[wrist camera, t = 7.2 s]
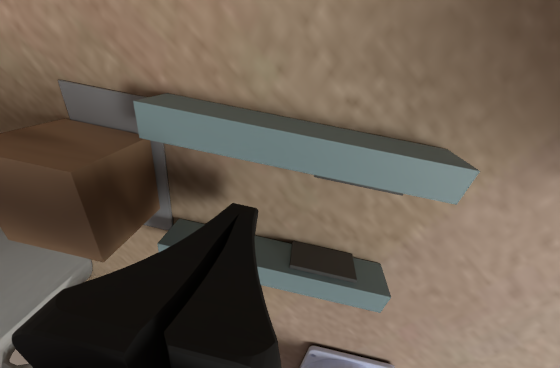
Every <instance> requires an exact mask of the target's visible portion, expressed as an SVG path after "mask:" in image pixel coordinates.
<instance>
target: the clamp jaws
mask: <svg viewBox="0 0 560 368" xmlns="http://www.w3.org/2000/svg"><path fill="white" fill-rule="evenodd" d="M133 103H134V109H135V115H136V121H137V127H138V132H139V138H142V139H146V140H151V141H156V142H161V143H165V144H170V145H175V146H180V147H184V148H189V149H194V150H199V151H203V152H208V153H213V154H218V155H222V156H227V157H232V158H237V159H241V160H246V161H251V162H256V163H260V164H265V165H270V166H275V167H280V168H284V169H289V170H294V171H299V172H303V173H308V174H313V175H314V177H317V178H322V179H326V180H331V181H336V182H341V183H345V184H350V185H355V186H360V187H364V188H369V189H374V190H379V191H383V192H388V193H393V194H398V195H403V194H408V195H413V196H417V197H422V198H427V199H432V200H436V201H441V202H446V203H451V204H455V205H457V203H458V202H459V200H460V199H461V198H462V196H463V195H464V193H465V192H466V191H467V189H468V188H469V186H470V185H471V183H472V182H473V181H474V179H475V178H476V176H477V175H478V174H479V172H480V171H479V170H478V169H476V168H475V167H473V166H472V165H470V164H469V163H467V162H466V161H464V160H463V159H461V158H460V157H458V156H457V155H455V154H454V153H452V152H451V151H449V150H448V149H443V148H438V147H433V146H428V145H423V144H418V143H413V142H408V141H403V140H398V139H393V138H388V137H383V136H378V135H373V134H368V133H363V132H358V131H353V130H348V129H343V128H338V127H333V126H328V125H323V124H318V123H313V122H308V121H303V120H298V119H293V118H288V117H283V116H278V115H273V114H268V113H263V112H258V111H253V110H248V109H243V108H238V107H233V106H228V105H223V104H218V103H213V102H208V101H203V100H198V99H193V98H188V97H183V96H178V95H173V94H168V93H166V94H162V95H157V96H153V97H148V98H143V99H139V100H134V101H133ZM204 225H205V224H201V223H197V222H192V221H188V220H183V219H178V220H177V221H176V223H175V224H174V225H173V226H172V227H171V228H170V230H169V231H168V232H167V233H166V234H165V235H164V236H163V238H162V239H161V240H160V241H159V242H158V243H157V244H158V250H159V252H161V251H163V250H165V249H166V248H168V247H170V246H172V245H174V244H175V243H177V242H179V241H181V240H182V239H184V238H186V237H187V236H189V235H190V234H192V233H193V232H195V231H196V230H198V229H199V228H201V227H202V226H204ZM255 253H256V262H257V268H258V274H259V279H260V284H261V285H263V286H268V287H272V288H276V289H280V290H285V291H289V292H293V293H298V294H302V295H306V296H310V297H315V298H319V299H323V300H328V301H332V302H336V303H340V304H345V305H349V306H353V307H358V308H362V309H366V310H370V311H375V312H379V313H380V312H381V311H382V310H383V308H384V307H385V305H386V304H387V302H388V301H389V300H390V298H391V295H390V292H389V289H388V286H387V283H386V280H385V277H384V273H383V270H382V267H381V264H379V263H375V262H370V261H366V260H361V259H357V258H353V256H352V254H350V253H345V252H341V251H337V250H332V249H328V248H323V247H319V246H314V245H310V244H305V243H301V242H296V241H293V243H292V244H290V243H286V242H281V241H277V240H272V239H268V238H263V237H259V236H255Z"/></svg>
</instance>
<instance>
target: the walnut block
mask: <svg viewBox="0 0 560 368" xmlns="http://www.w3.org/2000/svg"><path fill="white" fill-rule="evenodd" d="M159 209H160V204H159V197H158V190H157V183H156V176H155V169H154V162H153V155H152V148H151V142H150V140H146V139H142V138H139V134H136V133H131V132H126V131H121V130H117V129H112V128H107V127H102V126H97V125H93V124H88V123H83V122H78V121H74V120H69V119H60V120H56V121H52V122H47V123H43V124H39V125H34V126H30V127H26V128H21V129H17V130H12V131H8V132H4V133H0V228H1V229H2V231H3V232H4V234H5V235H6V237H7V239H8V240H11V241H15V242H19V243H24V244H28V245H32V246H36V247H40V248H45V249H49V250H53V251H57V252H62V253H66V254H70V255H74V256H79V257H83V258H87V259H91V260H95V261H100V262H105V261H106V260H107V259H108V258H109V257H110V256H111V255H112V254H113V253H114V252H115V251H116V250H117V249H118V248H119V247H120V246H121V245H122V244H124V243H125V242H126V241H127V240H128V239H129V238H130V237H131V236H132V235H133V234H134V233H135V232H136V231H137V230H138V229H139V228H140V227H141V226H142V225H144V224H145V223H146V222H147V221H148V220H149V219H150V218H151V217H152V216H153V215H154V214H155V213H156V212H157V211H158V210H159Z"/></svg>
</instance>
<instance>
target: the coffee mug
mask: <svg viewBox="0 0 560 368" xmlns="http://www.w3.org/2000/svg"><path fill="white" fill-rule="evenodd" d="M91 273H92V262H91V259H87V258H83V257H79V256H74V255H70V254H66V253H62V252H57V251H53V250H49V249H45V248H40V247H36V246H32V245H28V244H24V243H19V242H15V241H11V240H8V239H7V237H6V235H5V234H4V232H3V231H2V229H1V228H0V368H33V367H32V366H31V365H30V364H24V365H18V366H17V365H14V364H12V363H10V362H9V359H10V357H11V355H12V353H13V352H14V350H15V349H16V348H15V347H14V346H13V344H12V334H13V333H14V332H15V331H16V330H17V329H18V328H19V327H20V326H21V325H23V324H24V323H25V322H26V321H27V320H28V319H29V318H30V317H31V316H33V315H34V314H35V313H36V312H37V311H38V310H39V309H40V308H42V307H43V306H44V305H45V304H46V303H47V302H48V301H49V300H51V299H52V298H53V297H54V296H55V295H56V294H58V293H59V292H60V291H61V290H62V289H65V288H68V287H71V286H74V285H77V284H80V283H83V282H85V281H86V280H87V279H88V278H89V277H90V275H91Z"/></svg>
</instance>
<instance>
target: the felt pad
mask: <svg viewBox="0 0 560 368" xmlns="http://www.w3.org/2000/svg"><path fill="white" fill-rule="evenodd" d="M58 83H59V86H60V89H61V92H62V95H63V98H64V101H65V105H66V108H67V111H68V114H69V117H70V120H74V121H78V122H83V123H88V124H93V125H97V126H102V127H107V128H112V129H117V130H121V131H126V132H131V133H136V134H139V132H138V127H137V121H136V115H135V109H134V103H133V101H134V100H139V99H143V98H148V97H143V96H138V95H133V94H128V93H123V92H118V91H113V90H109V89H104V88H99V87H94V86H89V85H84V84H79V83H74V82H69V81H64V80H58ZM150 142H151V148H152V155H153V162H154V169H155V176H156V183H157V190H158V197H159V204H160V209H159V210H158V211H157V212H156V213H155V214H154V215H153V216H152V217H151V218H150V219H149V220H148V221H147V222H146V223H145V224H144V225H147V226H151V227H156V228H160V229H165V230H170V228H171V227H172V226H173V220H172V212H171V203H170V194H169V185H168V176H167V167H166V159H165V150H164V143H161V142H156V141H151V140H150Z"/></svg>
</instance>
